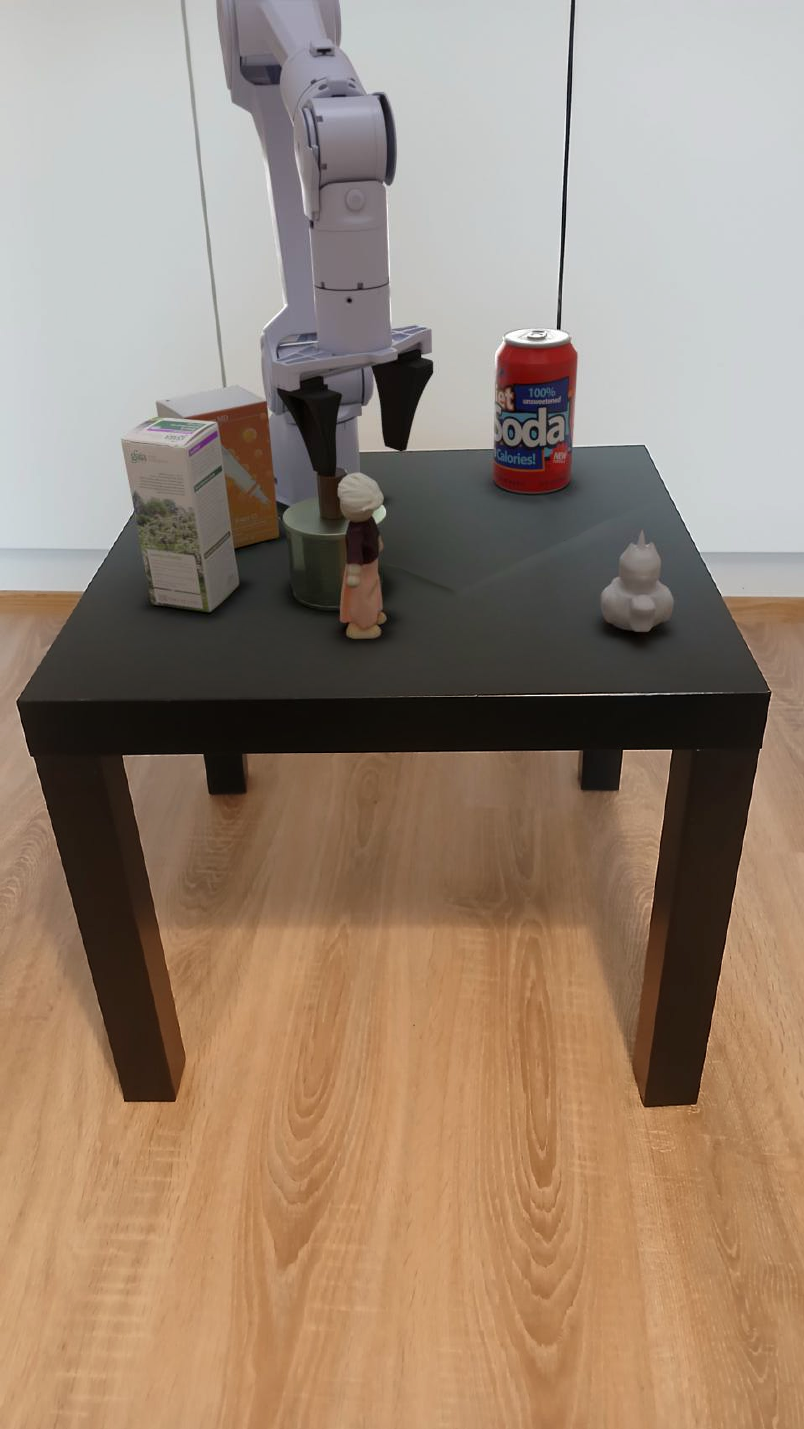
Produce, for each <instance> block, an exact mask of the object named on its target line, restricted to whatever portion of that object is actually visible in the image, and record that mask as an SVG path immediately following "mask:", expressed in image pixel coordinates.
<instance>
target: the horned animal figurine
mask: <svg viewBox="0 0 804 1429" xmlns="http://www.w3.org/2000/svg"><path fill="white" fill-rule="evenodd" d="M661 566H662V560H661V557H660V556H659V553H658V551H657V549H656V546H655V544H654V542H653V541H651V542H650V543H648V544H646V539H645V535H644V531H643V529H641V531H640V532H639V536H638V540H637V542H636V544H634V542H630V543H629V545H628V546H627V547H626V549H625V551H623V552H622V553H621V555H620V556H619V560H618V572H617V573H618V576H617V577H614V578H613V579H612V580H611V583H610V584H609V585H608V586H606V587H605V588H604V589H603V590H602V592H601V594H600V610H601V614H602V617H603V618H604V620H605V622H607V623H608V624H612V625H613V626H614V627H616V628H618V629H621V630H624V631H633V632H635V633H647V632H648V633H649V631H651V629H653V628H655V627H656V626H657V625H659V624H661V623H667V621H668V620H669V619H670V618H671V616H672V613H673V609H674V606H675V600H674V597H673V595H672V592H671V590H670V589H669V587H668V586H666V585H664V584H663V583H661V582H660V580H659V578H660V575H661V568H662V567H661Z"/></svg>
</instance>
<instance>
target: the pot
mask: <svg viewBox="0 0 804 1429" xmlns="http://www.w3.org/2000/svg"><path fill="white" fill-rule="evenodd" d="M381 528H382V527H380V528H379V531H380V537H381V538H382V531H381V530H382V529H381ZM285 532H286V534H285V535H286V543H287V544H286V545H287V554H288V563H289V574H290V585H291V592H292V596H293V597H294V599H295V600H296V602H298V603H299V604H300V605H302V606H304V607H307V608H309V609H314V610H318V611H326V612H328V611H329V612H340V603H341V592H342V586H343V580H344V572H345V567H346V563H347V550H346V541H345V539H343V540H315V539H308V538H304V537H300V536H297V535H295V534H292V533H291V532H289V531H288V530H287V529H286V528H285ZM382 552H383V550H382V551H381V552H379V555H378V575H379V579H380V588H381V594H382V592H383V588H384V587H383V583H384V578H383V574H384V573H383V555H382Z"/></svg>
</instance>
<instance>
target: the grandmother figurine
mask: <svg viewBox="0 0 804 1429" xmlns="http://www.w3.org/2000/svg"><path fill="white" fill-rule="evenodd" d="M338 497H339V498H340V508H341V512H342V514H343V515H344V516H345V518H346V519H348V520H350V521H349V524H348V528H347V531H346V535H345V541H346V550H347V563H346V567H345V572H344V580H343V586H342V592H341V603H340V611H339V622H340V623H343V624H346V623H348V625H347V628H346V632H345V634H346V637H348V639H349V638H350V639H353V640H363V639H365V640H366V639H367V640H368V639H376V638H378V637H380V636H381V635H382V630H381V628H380V626H379V625H382V624H385V623H386V621H387V616H386V614H385V613H384V612H382V610H383V608H384V606H383V595H382V593H381V588H380V579H379V575H378V555H379V552H381V551H382V552H383V550H384V543H383V542H382V536H381V537H380V531H379V529H378V527H377V524H376V522H375V519H374V518H373V516H372V514H373V512H374V510H377V509H378V508H380V506H381V505H383V503H384V500H385V499H384V495H383V492H382V491H381V489H380V487H379V485H378V482H377V481H376V480H374V479H373V478H371V477H370V476H369V475H366V474H364V473H363V472H360V473H359V472H358V473H351V474H348V475H347V476H346V477H344V478H343V479H342V480H341V482H340V483H339V484H338Z"/></svg>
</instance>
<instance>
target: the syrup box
mask: <svg viewBox="0 0 804 1429" xmlns="http://www.w3.org/2000/svg"><path fill="white" fill-rule="evenodd" d="M120 440H121V448H122V454H123V460H124V464H125V469H126V474H127V480H128V486H129V490H130V491H129V492H130V495H131V501H132V505H133V506H132V507H133V512H134V518H135V522H136V528H137V534H138V539H139V544H140V550H141V555H142V560H143V565H144V570H145V576H146V581H147V587H148V592H149V598H150V603H151V605H153V606H154V605H155V606H160V607H161V606H162V607H168V608H169V607H170V608H174V609H175V608H176V609H181V610H182V609H183V610H189V611H196V612H202V613H203V612H204V613H211V612H213V611H214V610H215V609H216V608H217V607H219V605H221V604H222V603H223V602H224V601H225V600H226V599H227V598H228V597H229V596H230V595H231V594H232V593H233V592H234V591H235V590H236V589H237V588H238V587H239V586H240V577H239V571H238V564H237V560H236V554H235V553H236V552H235V548H234V545H233V537H232V530H231V522H230V514H229V507H228V499H227V491H226V482H225V474H224V465H223V457H222V449H221V442H220V435H219V428H218V424H217V422H212V421H200V420H188V419H176V418H163V417H158V416H155V417H152V418H149V419H148V420H146V421H144V422H142V423H140V424H138V425H137V426H136V427H134V428H132V429H131V430H130V431H129V432H127V433H126V434H125V435H124V436H122V437H121V438H120Z"/></svg>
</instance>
